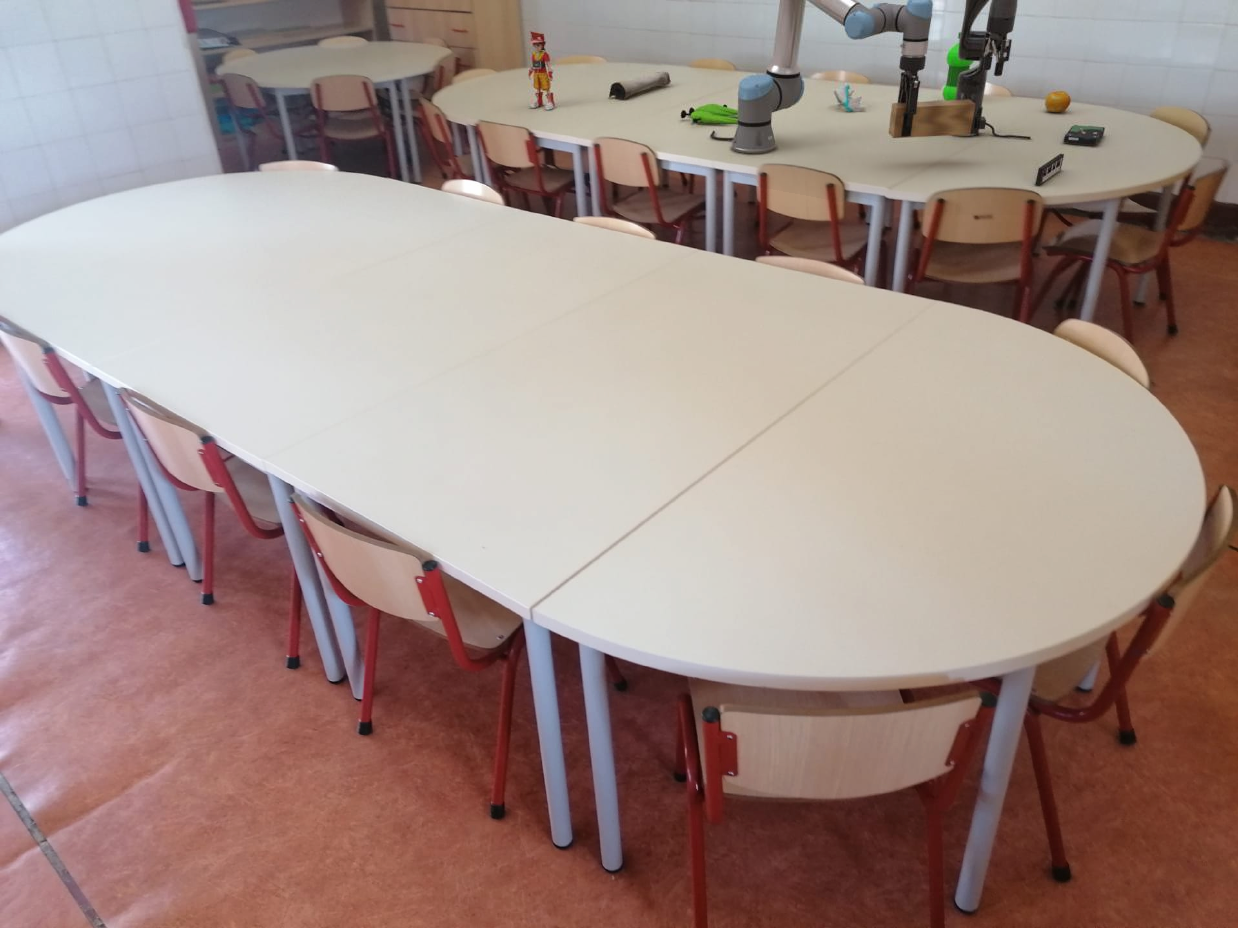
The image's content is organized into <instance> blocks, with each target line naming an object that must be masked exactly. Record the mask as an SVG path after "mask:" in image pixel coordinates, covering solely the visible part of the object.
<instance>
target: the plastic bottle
mask: <svg viewBox="0 0 1238 928" xmlns="http://www.w3.org/2000/svg"><path fill="white" fill-rule="evenodd" d="M960 35H961V31H959V32H958V36H957V39H958V42H957V43H956V44H954V45H953V46H952V47H951V48H950V49H949V50H948V52H947V54H946V63H947V64H948V69H947V70H948V71H947V76H946V77H947V78H946V84H945V85H944V87H943V90H942V97H943V100H944V101H946V100H955V96H956V90H957V83H958V77H959V74H960V73H961V72H963V71H966V70H969V69H971V68H970V67H971V65H972V64H973V63H974V61H964V60H960V59H959V58H958V47H959V41H960Z"/></svg>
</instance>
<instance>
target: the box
mask: <svg viewBox="0 0 1238 928" xmlns="http://www.w3.org/2000/svg"><path fill="white" fill-rule="evenodd" d="M974 109H975V103H973V102H972V101H971V100H970V99H966V100H929V101H917V109H916V114H914V115H913V121H912V129H911V136H901V135H902V127H903V119H904V115H903V113H905V112H906V103H897V102H892V103H891V108H890V110H891V111H890V117H889V125H888V126H889V127H888V134H889V136H890V137H891V138H892V139H904V138H906V139H907V138H925V137H941V136H942V137H945V136H947V137H948V136H955V135H968V134H970V133H971V127H972V121H973V115H974Z"/></svg>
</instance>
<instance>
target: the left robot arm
mask: <svg viewBox="0 0 1238 928" xmlns="http://www.w3.org/2000/svg"><path fill="white" fill-rule="evenodd" d="M807 2H808V3H810V4H812V5H813V6H815V7H816V8H817V9H819V10H820V11H821V12H823V13H824V14H826V15H827V16H829V17H830V18H832V20H835V21H836V22H837V23H838V24H840V25H841V26H843V27H844V32H845V34H846V36H847V37H848V39H851V40H856V41H857V40H864V39H867V38H870V37H873V36H877V35H880V34H885V33H887V32H888V33H889V32H891V33H902V43H900V48H901V52H900V54H901V56H900V58H899V64H898V65H899V66H898V67H899V69H900V70H902V71H901V73H900V82H899V89H898V96H897V102H896V103H906V112H905V113H903V115H904V119H903V127H902V135H901V136H911V129H912V121H913V115H914V114H916V109H917V102H919V101H918V100H919V93H920V91H919V90H920V86H921V80H920V79H919V73H918V72H919V71H923V70H924V69H925V68H926V61H927V60H926V59H927V56H926V55H927V54H928V48H929V47H928V46H929V36H930V30H931V25H932V24H931V23H932V19H933V18H932V17H933V6H934V3H933V0H907V2H906V4H895V3H888V2H877V3H874V4H873V5H872V6H871V7H870V8H869V7H867V6H865V5H864V4H862V3H861V2H859V0H779V5H778V13H777V21H776V28H775V29H776V30H775V35H774V36H775V37H774V44H773V53H772V61H771V63H770V64H769V65H768V66H766V73H757V74H752V75H747V76H746V77H744V78H742V79H741V80H740V81H739V83H738V91H737V110H738V115H737V119H738V123H737V126H736V129H735V132H734V136H733V137H721V136H715V134H716V131H715V130H712V132H711V134H710V138H711V139H713V140H717V141H731V142H732V143H731V149H732V151H734V152H735V153H736V152H737V153H740V154H747V155H757V154H765V153H769V152H772V151H774V150H775V149H776V137H775V134H774V130H773V127H772V118H773V117H772V115H773V113H776V112H779V111H782V110H786V109H789V108H792V107H793V106H795V105H797V104H798V103H799V102H800V101H801V99H802V98H803V95H804V93H805V80H803V76H802V75H801V68H800V67H799V65H798V60H799V59H798V58H799V54H800V53H799V52H800V45H801V38H802V31H803V24H804V19H805V11H806V5H807Z"/></svg>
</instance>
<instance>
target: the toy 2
mask: <svg viewBox="0 0 1238 928" xmlns="http://www.w3.org/2000/svg"><path fill="white" fill-rule="evenodd" d="M688 109H689V110H688V112H687V111H686V110H685V109H682V110H681V112H680V118H681V119H685V118H687V116H688V117H690V119H691V120H692V123H693V124H698V123H701V124H711V123H713V124H738V118H734V116H738V109H734V108H732V107H731V108H730V107H728V105H727V104H722V105H720V104H717V103H708V104H704V105H701V106H699V107H697V108H695V109H694V108H693V107H690V108H688Z"/></svg>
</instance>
